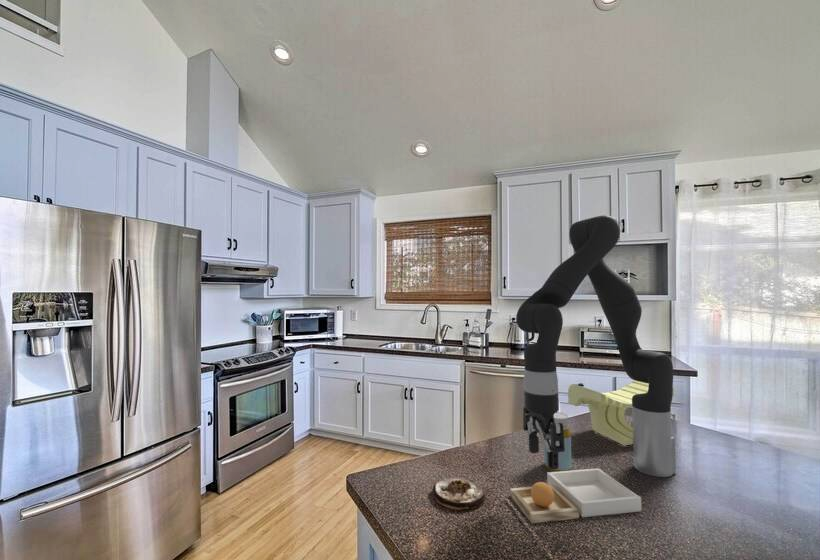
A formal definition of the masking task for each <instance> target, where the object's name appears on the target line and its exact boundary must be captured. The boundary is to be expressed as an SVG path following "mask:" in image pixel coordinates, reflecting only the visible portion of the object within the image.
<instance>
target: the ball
mask: <svg viewBox="0 0 820 560" xmlns="http://www.w3.org/2000/svg"><path fill="white" fill-rule="evenodd" d="M531 487H532V489H531V496H532V499H533V500H534V502H535V503H536V504H537V505H539V506H541V507H548V506H550V505H551V504H552V502H553V500H554V493H553V490H552V488H551V487H550V486H549V485H548V484H547V482H543V481H538V482H535V483H534V484H533V485H532V486H531Z"/></svg>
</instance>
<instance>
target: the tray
mask: <svg viewBox="0 0 820 560" xmlns="http://www.w3.org/2000/svg"><path fill="white" fill-rule="evenodd" d="M549 486H550V487H551V488H552V490H553V493H554V500H553V502H552V504H551V505H550V506H548V507H541V506H539V505H537V504H536V503H535V502H534V500H533V499H532V496H531V489H532V487H533V486H525V487H524V486H523V487H511V488H509V496H510V498H511V499H512V500H513V502H514V503H515V504H516V506H518V507H519V509H520V510H521V511H522V513H523V515H525V516H526V518H527V519H528V520H529V521H530V523H531V524H535V523H537V524H538V523H545V522H546V523H547V522H548V523H549V522H555V521H563V520H565V521H567V520H574V519H575V520H576V519H580V515H579V510H578V509H577V508H576V507H575V506H574V505H573V504H572V503H571V502H570V501H569V500H568V499H567V498H566V497H564V496H563V495H562V494H561V493H560V492H559V491H558V490H557V489H556V488H555V487H554V486H553V485H549Z"/></svg>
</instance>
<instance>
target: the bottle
mask: <svg viewBox="0 0 820 560" xmlns="http://www.w3.org/2000/svg"><path fill="white" fill-rule="evenodd" d="M553 416H554V421H555V423H562V424H563V432H564V447H565V451H564V452H558V468H557V469H550V468H548V463H547V451H548V450H547V447H546V444H545V442H544V443H543V444H544V447H543V451H544V454H543V455H544V467H545V468H546V469H547V470H549V471H551V472H560V471H572V437H571V431H570V428H569V424H570V422H569V421H570V420H569V418H570V417H569V415H568V414H566V413H563V412H559V411H557V412H556V413H555V414H554V415H553ZM547 436H550V435H547ZM549 442H550V445H551V441H549ZM558 444H559V441H558Z"/></svg>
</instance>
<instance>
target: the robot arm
mask: <svg viewBox="0 0 820 560" xmlns="http://www.w3.org/2000/svg"><path fill="white" fill-rule="evenodd" d="M568 235H569V240H570V244H571V247H572V248H573V251H574V252H575V253H574V254H572V255H570V257H568V258H567V259H565V260H564V261H563V262H561V263H560V264H559V265H558V266H557V267H555V269H554V270H553V271H552V272H551V274H550V275H549V276H548V277H547V279H546V280H545V282H544V283H543V285H542V287H540V288H539V289H538V290H536V291H535V292H534V293H532V295H531V296H529V297H528V298H527V299H526V300H525V301H524V302H522V304H521V305H520V306H519V308H518V310H517V312H516V315H515V316H516V318H515V320H516V321H515V322H516V325H517V327H518V328H519V329H520V330H521V331H523V332H524V333H525V332H526V333H530V334H538V336H537V340H536V342H533V343H528V344H526V346H525V347H524V350H523V352H524V354H523V357H524V358H523V359H524V375H523V393H524V394H523V396H524V399H523V400H524V406H523V410H522V411H523V414H522V415H523V416H522V418H523V421H522V422H523V426H522V427H523V431H524V432H526V435H527V437H528V451H529V453H531V454H538V453H539V452H540V444H539V443H540V440H539V439H540V438H541V440H542V442H545V444H546V447H547V450H548V451H547V463H548V468H550V469H557V468H558V452H564V451H565V447H564V432H563V424H562V423H555V421H554V416H553V415H554V414H555V413H556V412H559V410H560V409H559V408H560V405H559V403H560V402H559V377H558V374H557V373H558V372H557V355H556V354H557V349H558V345H559V342H560V337H561V334H562V329H563V323H564V319H563V314H562V312H561V310H560V308H563V307H565V306H566V305H567V304H568V303H569V302H570V300H571V299H572V297H573V296H574V295H575V293H576V291H577V289H578V288H579V287H580V285H581V283H582V282H583V281H584V279H585V278H586V277H587V276H588V278H589V280H590V282H591V285H592V286H593V289H594V291H595V293H596V294H595V295H596V296H597V300H598V301H599V304H600V306H601V309H602V312H603V314H604V315H605V317H606V320H607V323H608V325H609V326H610V330H611V332H612V335H613V337H614V340H615V343H616V346H617V350H618V352H619V353H618V354H619V356H620V360H621V362H622V366H623V369H624V371H625V373H626V375H627V376H628V378H629V379H631V380H633V381H639V382H643V383H648V384H649V387H648V392H647V393H643V394H636V395H634V396H633V397H632V408H631V414H632V415H631V416H632V427H633V445H632V449H633V452H632V453H633V467H634V469H636V471H638V470H639V472H640V473H643V474H645V475H648V476H652V477H658V478H669V477H672V476H673V474H677V467H676V466H677V465H676V463H677V460H676V439H675V437H673V436H672V413H671V412H672V411H671V408H672V402H673V387H674V365H673V361H672V359H671V357H670V356H669V355H668V354H666V353H665V352H660V351H651V350H646V349H642V347H641V345H640V344H639V341H638V338H637V329H638V326H639V324H640V321H641V318H642V312H643V311H642V310H643V309H642V306H641V303H640V300H639V298H638V296H637V294H636V291H635V289H634V287H633V286H632V284H630V282H628V280H626V279H625V278H624V277H623V276H622V275H620V274H619V273H618V272H617V271H615V270H614V269H613V268H612V267H610V266H609V264H608V263H607V262H606V260H605V259H604V258H605V256H607V254H608V253H610V252H611V251H612V250H613V248H615V247H616V245H617V243H618V242H619V239H620V235H621V230H620V226H619V223H618V222H617V220H616V218H614V217H613V216H610V215H605V214H603V215H598V216H593V217H589V218H585V219H582V220H578V221H575V222H574V223H573V224H572V225H571V226H570V228H569V234H568ZM547 435H550V436H547ZM539 436H540V438H539ZM549 441H551V445H550V442H549ZM558 441H559V444H558ZM548 468H547V469H548ZM550 469H549V470H550Z"/></svg>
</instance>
